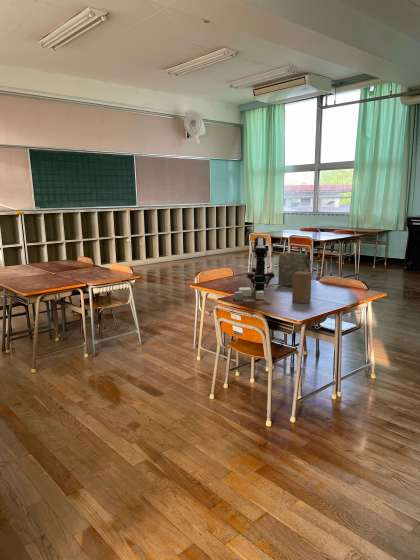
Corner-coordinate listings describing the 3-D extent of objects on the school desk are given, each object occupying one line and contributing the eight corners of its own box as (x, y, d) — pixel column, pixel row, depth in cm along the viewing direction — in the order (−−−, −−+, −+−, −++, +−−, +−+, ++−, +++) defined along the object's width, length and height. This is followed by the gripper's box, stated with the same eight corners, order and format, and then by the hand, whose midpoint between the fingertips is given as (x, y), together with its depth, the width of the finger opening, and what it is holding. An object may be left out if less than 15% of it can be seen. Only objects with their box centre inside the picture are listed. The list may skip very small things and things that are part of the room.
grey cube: (241, 298, 291) (241, 291, 290) (242, 299, 286) (242, 292, 285) (234, 298, 291) (234, 291, 290) (235, 300, 286) (235, 293, 285)
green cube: (262, 297, 292) (262, 290, 291) (264, 299, 287) (264, 292, 286) (255, 297, 291) (255, 291, 291) (257, 299, 287) (257, 292, 286)
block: (306, 304, 272) (307, 274, 268) (291, 302, 277) (292, 273, 273) (310, 301, 281) (312, 272, 277) (296, 299, 286) (297, 270, 282)
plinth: (249, 294, 304) (249, 287, 303) (251, 296, 296) (251, 289, 295) (238, 294, 304) (238, 287, 303) (240, 296, 296) (240, 290, 295)
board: (253, 299, 286) (253, 299, 286) (255, 301, 280) (256, 301, 280) (242, 300, 285) (242, 299, 285) (244, 302, 279) (244, 301, 279)
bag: (310, 285, 330) (312, 251, 325) (303, 289, 317) (304, 253, 312) (284, 282, 343) (285, 249, 337) (276, 286, 330) (277, 251, 324)
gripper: (270, 263, 294) (269, 284, 297) (244, 263, 292) (244, 285, 295) (274, 265, 283) (274, 287, 286) (248, 266, 281) (247, 289, 284)
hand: (260, 287), depth 288 cm, fingers open, 9 cm apart
